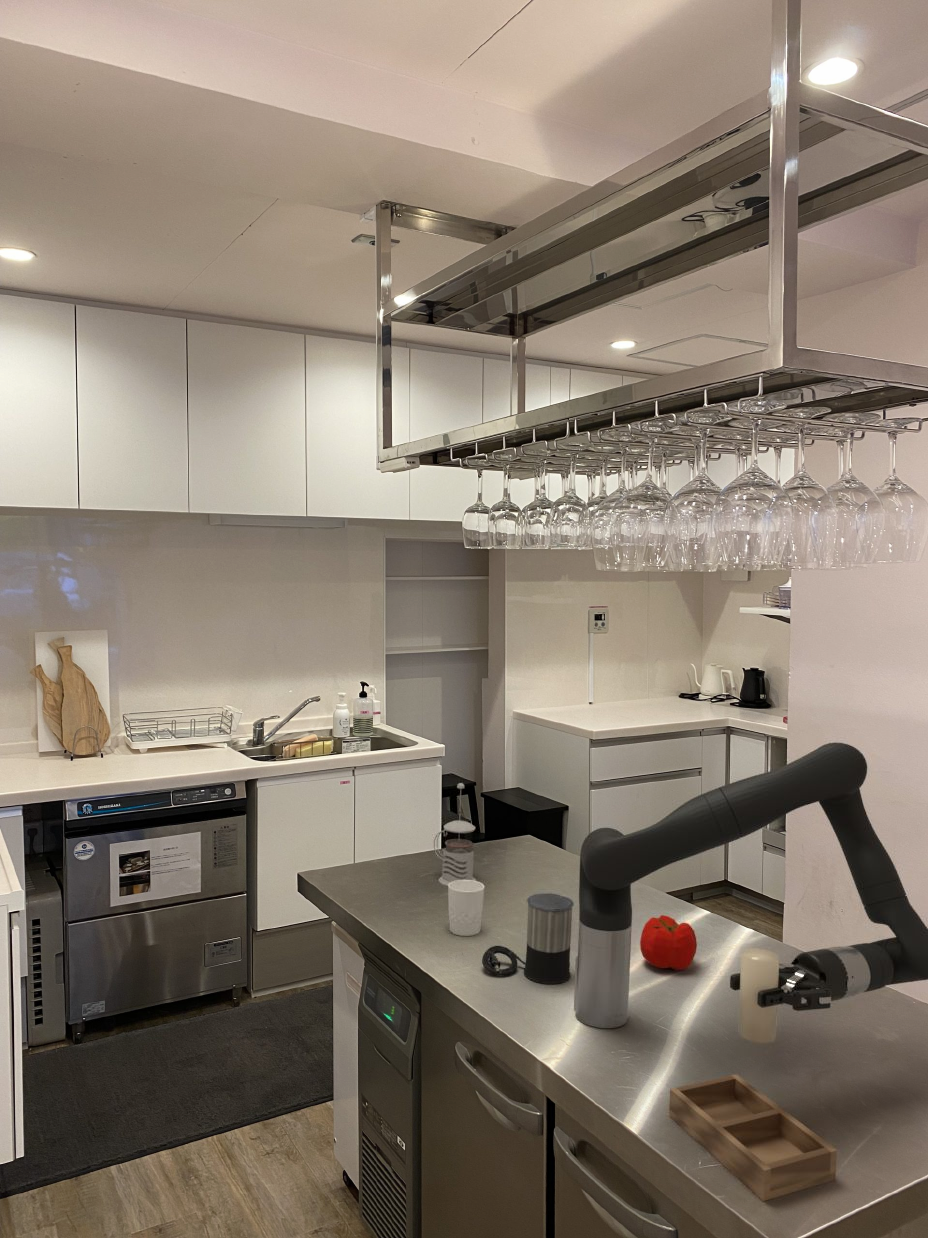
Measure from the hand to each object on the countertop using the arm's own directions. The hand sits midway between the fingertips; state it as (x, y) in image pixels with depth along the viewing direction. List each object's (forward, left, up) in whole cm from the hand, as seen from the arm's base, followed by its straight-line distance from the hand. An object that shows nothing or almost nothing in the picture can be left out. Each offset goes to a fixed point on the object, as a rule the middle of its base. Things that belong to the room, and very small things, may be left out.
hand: (745, 991), depth 139 cm
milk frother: (-53, -8, -18) cm, 57 cm away
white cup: (-77, -11, -18) cm, 80 cm away
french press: (-109, 0, -18) cm, 111 cm away
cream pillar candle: (0, +3, -7) cm, 7 cm away
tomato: (-47, +21, -18) cm, 55 cm away
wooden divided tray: (+8, -5, -18) cm, 20 cm away
